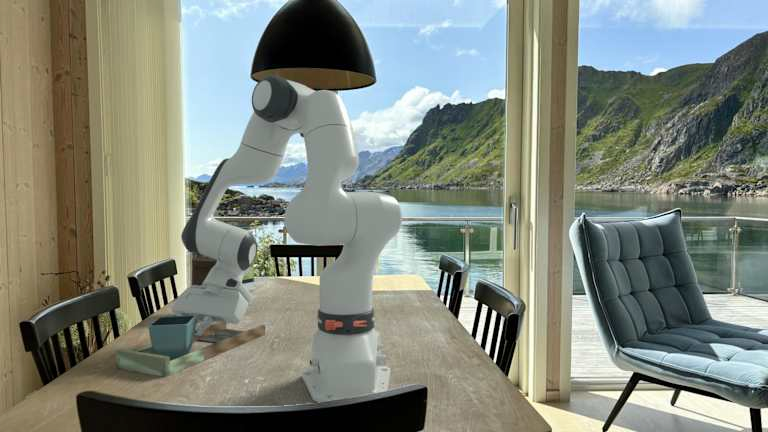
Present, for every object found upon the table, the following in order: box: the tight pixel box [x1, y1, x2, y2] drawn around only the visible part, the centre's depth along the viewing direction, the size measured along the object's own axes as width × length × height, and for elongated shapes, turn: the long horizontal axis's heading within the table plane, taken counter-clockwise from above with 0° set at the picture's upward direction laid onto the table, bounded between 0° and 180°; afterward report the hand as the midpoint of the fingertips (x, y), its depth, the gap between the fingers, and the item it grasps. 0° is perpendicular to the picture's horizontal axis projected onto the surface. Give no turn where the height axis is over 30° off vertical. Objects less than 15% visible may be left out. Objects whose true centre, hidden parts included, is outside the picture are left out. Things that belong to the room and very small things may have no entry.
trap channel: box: [115, 322, 266, 378], centre depth 131 cm, size 36×14×4 cm, turn 157°
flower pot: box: [147, 315, 196, 361], centre depth 125 cm, size 9×9×9 cm
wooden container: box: [191, 255, 217, 286], centre depth 169 cm, size 15×15×22 cm
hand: (194, 333), depth 130 cm, fingers closed
